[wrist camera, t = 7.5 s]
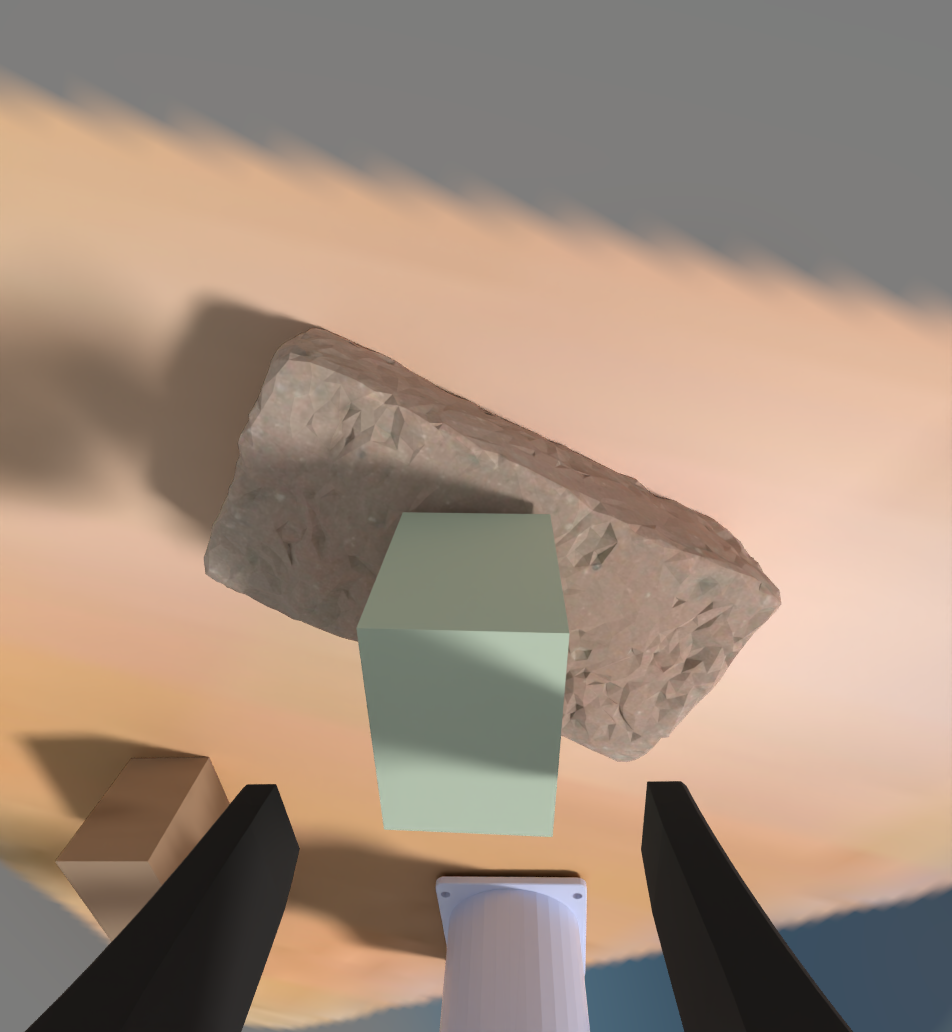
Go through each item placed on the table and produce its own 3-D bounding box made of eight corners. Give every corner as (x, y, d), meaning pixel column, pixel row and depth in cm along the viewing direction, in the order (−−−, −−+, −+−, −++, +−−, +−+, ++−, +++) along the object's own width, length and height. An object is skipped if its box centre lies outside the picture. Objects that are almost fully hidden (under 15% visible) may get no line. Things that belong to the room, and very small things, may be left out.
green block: (540, 682, 17) (552, 837, 13) (416, 679, 17) (384, 829, 13) (549, 514, 14) (569, 633, 10) (403, 512, 15) (356, 628, 10)
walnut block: (244, 833, 28) (195, 942, 24) (173, 834, 29) (111, 941, 24) (210, 755, 26) (147, 861, 21) (132, 757, 26) (54, 861, 22)
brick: (243, 521, 20) (175, 593, 16) (312, 311, 17) (247, 332, 13) (615, 680, 23) (640, 776, 19) (742, 527, 19) (808, 605, 15)
